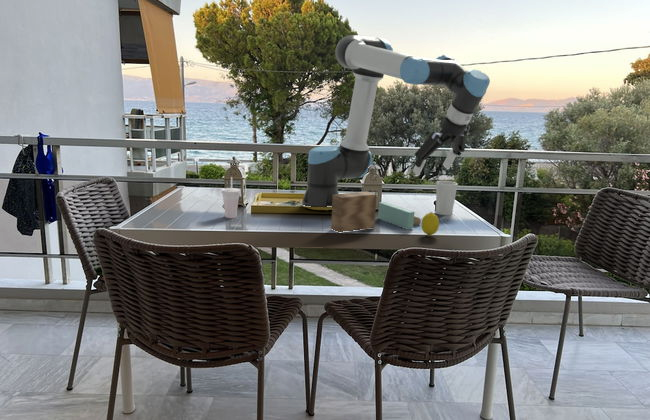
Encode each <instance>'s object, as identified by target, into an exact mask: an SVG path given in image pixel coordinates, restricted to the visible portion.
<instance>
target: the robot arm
mask: <svg viewBox="0 0 650 420" xmlns="http://www.w3.org/2000/svg"><path fill="white" fill-rule="evenodd" d="M334 53H335V58H336V60H337V62H338V64H339V65H341V66H342V67H343V68H346V69H350V70H352V74H353V76H354V77H355V78H354V79H355V80H354V85H353V91H352V97H351V102H350V108H349V113H348V114H349V115H348V120H347V124H346V131H345V137H344V139H343V140H342V141H340V142H339V147H338V146H335V145H326V146H325V145H324V146H316V147H313V148H311V149H310V150H309V151H308V158H307V185H306V186H307V187H306V189H305V192H304V194H303V198H302V200H301V201H302V202H301V204H303V205H305V206H311V207H327V206H332V201H333V195H334V194H340V193H339V189H338V183H339V182H338V180H348V179H359V178H363V177H365V176H366V175H365V174H366V173H367V172H368V167H369V166H370V165H372V166H373V163H374V162H373V154H372V152H371V151H370V147H369V145H368V144H367V141H368V136H369V131H370V126H371V120H372V116H373V112H374V111H373V110H374V105H375V100H376V95H377V90H378V84H379V82H380V81H381V80H383V79H384V75H385V76H389V77H393V78H396V79H398V80H402V81H403V82H404V83H406V84H408V85H409V84H410V85H412V86H413V85H415V86H417V85H420V86H421V85H425V86H437V87H438V86H439V87H445V88H446V89H447V90H448V91H450V93H451V94H453V95H454V97H453V98H452V101H451V103H450V105H449V107H448V109H447V110H446V114H445V115H444V117H443V120H442V122H441V130H440V131H439V132H436V131H435V130H433V131H432V132H431V133H430V135H429V137H428V138H427V139H426V141H424V143H423V144H422V145H420V147H419V148H418V149H417V150H416V152H415V153H414V156H415V157H416V158H417V160H416V161H415V163H414V167H413V169H412V172H413V173H414V174H415V175H416V176H417V177H418V176H420V174H421V173H422V170H423V168H424V167H425V165H426V162H427V158H428V157H430V156H431V155H432V154H433V153H434V152H435V151H437V150H438V149H439V148H442V147H444V146H445V145H451V148H452V149H450V150H449V152H448V154H447V156H446V157H445V160H444V161H443V163H442V166H443V167H444V168H445V169H446V171H448V170H450V168H451V167H452V164H453V163H454V161H455V159H456V158H457V156H458V157H459V156H460V157H461V156H462V153H463V152H465V149H466V139H467V135H468V132H469V131H468V130H467V127H468V125H469V124H470V121H471V120H472V117H473V115H474V114H475V112H476V110H477V108H478V106H479V105H480V103H481V101H482V100H483V97H484V96H485V95H486V93H487V89H488V88H489V86H490V82H491V79H490V77H489V76H488V75H487V74H486V73H485V72H482V71H481V70H478V69H473V68H471V69H469V70H468V69H466V68H465V67H464V66H462V65H461V64H460V63H459V62H458V61H457V60H456V59H455V58H453V57H452V56H451V55H448V54H442V55H441V56H438V57H435V58H433V59H432V58H426V57H420V56H416V55H411V54H407V53H402V52H398V51H395V50H393V47H392V44H391V43H390V42H389V40H387V39H384V38H381V37H378V36H377V37H375V36H368V35H367V36H365V35H358V34H349V35H346V36H344V37H343V38H341V39H340V40H339V41H338V43H337V45H336V48H335V51H334ZM364 175H365V176H364Z"/></svg>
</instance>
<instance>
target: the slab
mask: <svg viewBox="0 0 650 420" xmlns="http://www.w3.org/2000/svg"><path fill="white" fill-rule="evenodd" d="M376 208H377V194H376V193H373V192H370V191H359V192H358V191H357V192H346V193H345V192H344V193H339V194H334V195H333V201H332V211H331V223H330V228H331V229H333V230H335V231H338V232H343V231H353V230H360V229H367V228H374V229H375V223H376V222H375V220H376ZM331 229H330V230H331Z"/></svg>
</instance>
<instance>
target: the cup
mask: <svg viewBox="0 0 650 420" xmlns="http://www.w3.org/2000/svg"><path fill="white" fill-rule="evenodd" d="M435 183H436V186H435V187H436V188H435V189H436V193H435V197H436V199H435V214H437V215H442V216H452V215H453V211H454V210H453V209H454V205H455V200H456V195H457V190H458V183H457V182H454V181H448V180H438V181H436V182H435Z"/></svg>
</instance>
